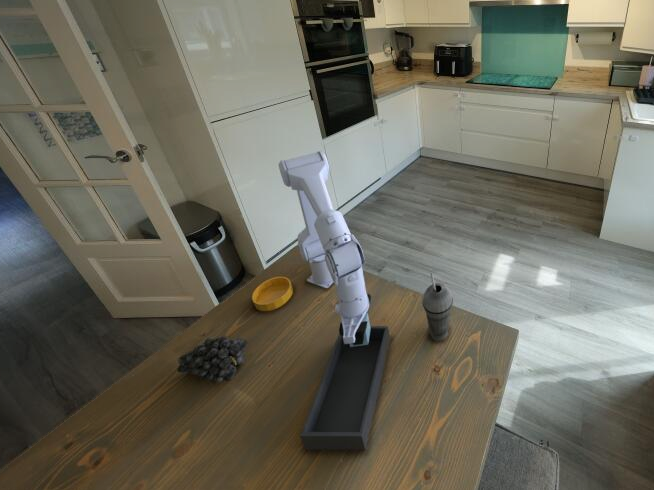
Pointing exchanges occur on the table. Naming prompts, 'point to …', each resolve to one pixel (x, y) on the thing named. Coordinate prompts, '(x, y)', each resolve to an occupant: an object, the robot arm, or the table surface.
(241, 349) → the fruit
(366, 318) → the toy block
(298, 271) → the table surface
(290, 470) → the table surface
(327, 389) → the bin
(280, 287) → the bowl
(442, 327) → the beverage cup
